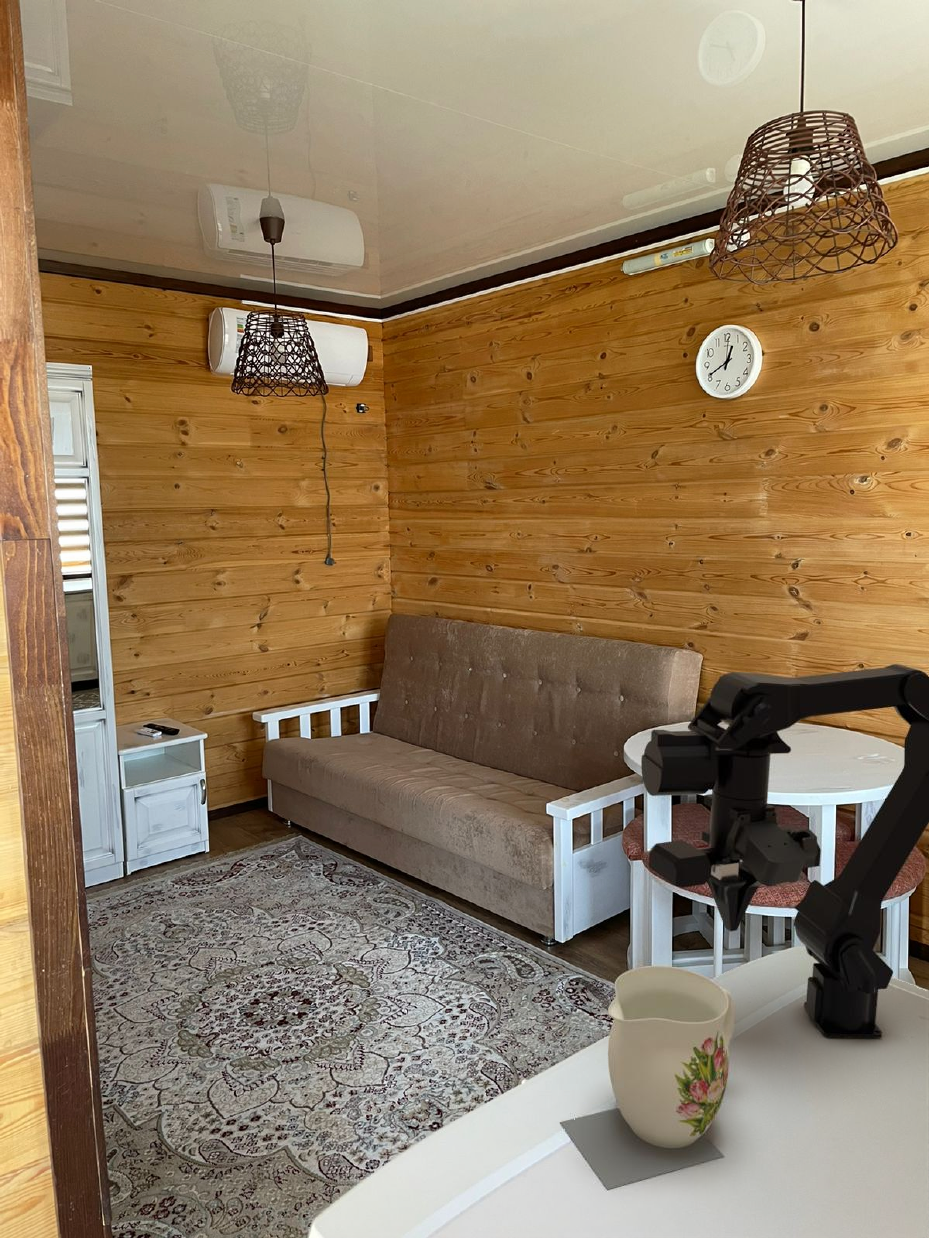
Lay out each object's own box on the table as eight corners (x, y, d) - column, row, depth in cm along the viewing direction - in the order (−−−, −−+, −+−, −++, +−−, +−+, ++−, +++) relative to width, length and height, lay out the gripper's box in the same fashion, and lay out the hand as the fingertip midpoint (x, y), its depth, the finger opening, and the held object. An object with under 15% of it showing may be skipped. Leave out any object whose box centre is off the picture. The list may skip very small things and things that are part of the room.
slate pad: (667, 1104, 91) (668, 1094, 91) (723, 1166, 83) (724, 1155, 83) (559, 1131, 87) (559, 1121, 87) (606, 1199, 78) (607, 1189, 78)
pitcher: (775, 1111, 89) (784, 977, 87) (655, 1198, 77) (663, 1046, 76) (682, 1057, 97) (689, 934, 95) (562, 1127, 86) (567, 989, 84)
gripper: (713, 826, 88) (704, 980, 90) (864, 806, 94) (852, 950, 96) (649, 791, 98) (642, 929, 100) (789, 775, 105) (780, 905, 107)
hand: (730, 929), depth 100 cm, fingers closed
